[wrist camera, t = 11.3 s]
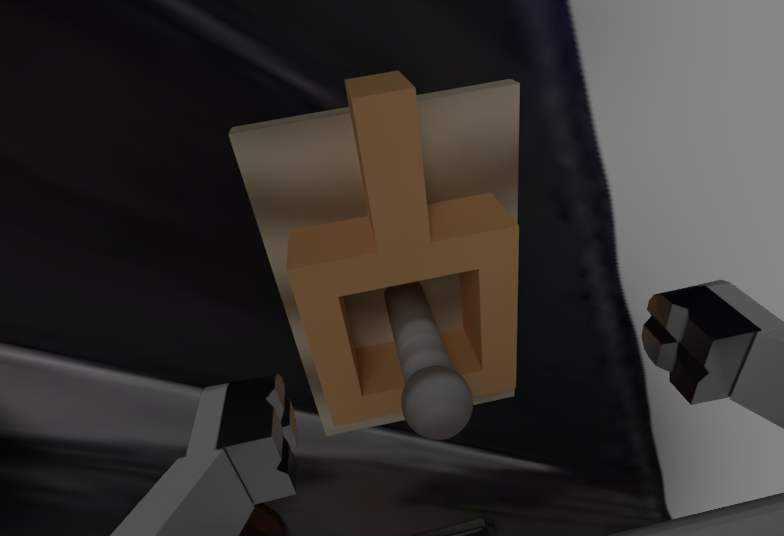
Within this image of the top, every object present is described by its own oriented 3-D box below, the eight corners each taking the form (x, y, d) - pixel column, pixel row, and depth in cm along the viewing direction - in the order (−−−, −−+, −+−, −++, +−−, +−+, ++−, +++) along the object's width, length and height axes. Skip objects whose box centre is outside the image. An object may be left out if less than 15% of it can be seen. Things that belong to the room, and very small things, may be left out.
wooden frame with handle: (250, 95, 21) (239, 117, 17) (488, 55, 21) (521, 68, 18) (330, 377, 30) (333, 426, 27) (493, 343, 31) (516, 387, 28)
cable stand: (231, 127, 23) (178, 233, 13) (510, 78, 23) (647, 145, 14) (325, 423, 34) (332, 590, 25) (508, 384, 35) (581, 531, 26)
